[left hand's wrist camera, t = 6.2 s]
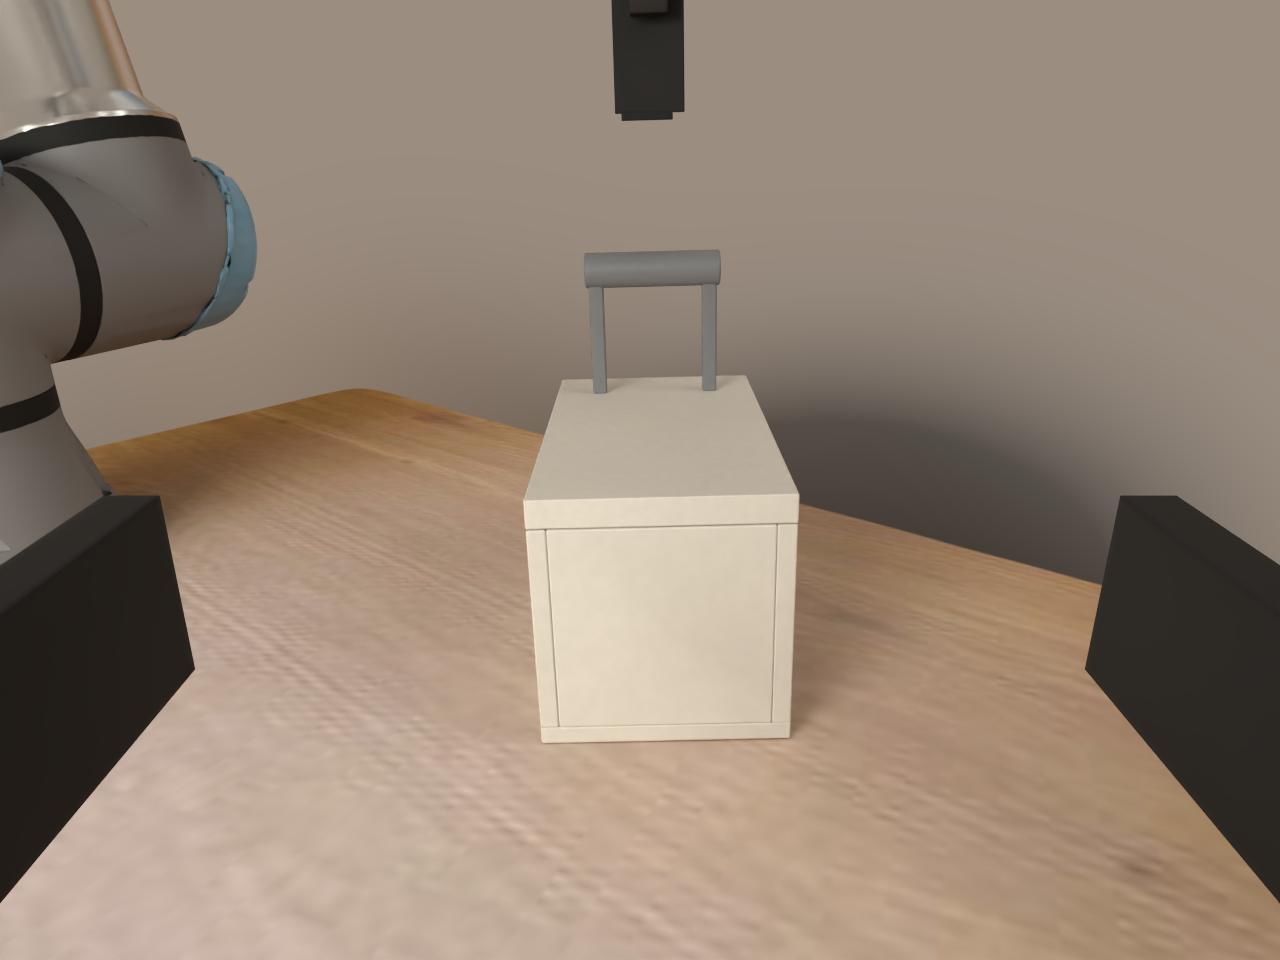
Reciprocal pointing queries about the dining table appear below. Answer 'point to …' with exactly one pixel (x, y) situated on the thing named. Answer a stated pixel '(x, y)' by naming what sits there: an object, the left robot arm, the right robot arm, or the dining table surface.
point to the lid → (657, 428)
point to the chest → (663, 631)
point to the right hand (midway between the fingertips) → (648, 118)
